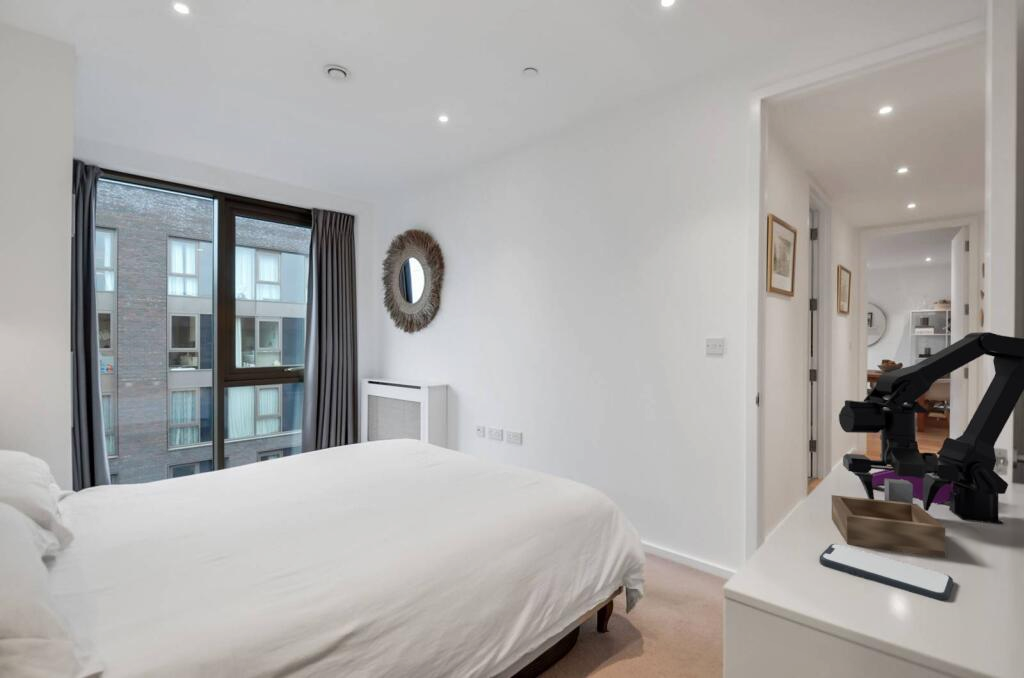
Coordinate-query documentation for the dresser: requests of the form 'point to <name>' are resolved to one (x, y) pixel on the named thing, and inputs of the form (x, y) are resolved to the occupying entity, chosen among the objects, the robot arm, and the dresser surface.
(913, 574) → the phone case
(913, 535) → the open wooden box
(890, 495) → the grey block
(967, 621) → the dresser surface
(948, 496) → the mounting bracket
